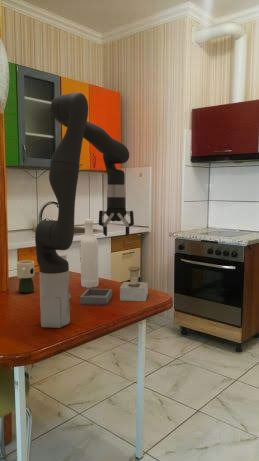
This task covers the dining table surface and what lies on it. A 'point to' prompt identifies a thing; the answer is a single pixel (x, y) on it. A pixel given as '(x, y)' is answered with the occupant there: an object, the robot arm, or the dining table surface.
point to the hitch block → (134, 292)
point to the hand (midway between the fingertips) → (116, 236)
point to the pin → (134, 276)
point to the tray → (96, 297)
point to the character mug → (25, 275)
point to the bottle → (89, 257)
